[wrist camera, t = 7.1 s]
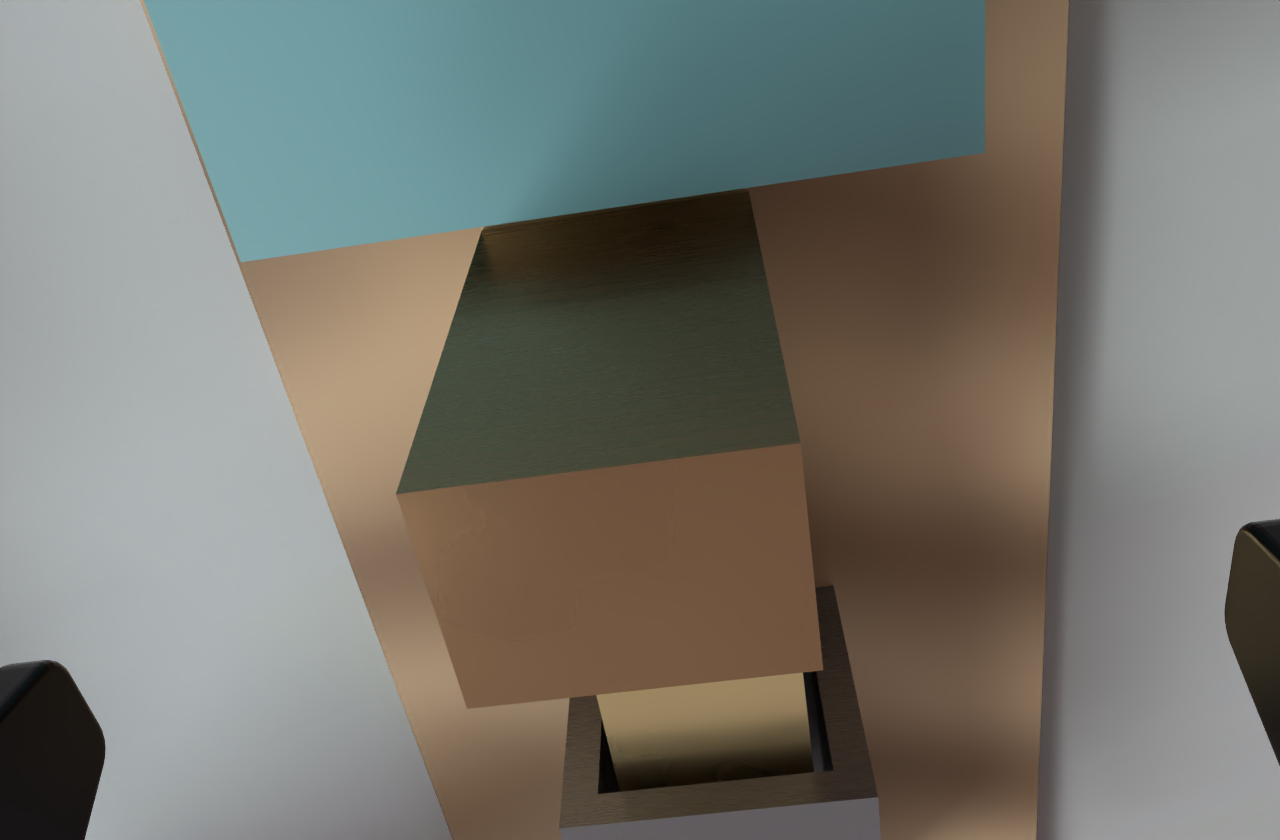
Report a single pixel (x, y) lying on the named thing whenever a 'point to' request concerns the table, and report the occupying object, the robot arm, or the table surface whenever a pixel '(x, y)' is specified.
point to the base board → (830, 443)
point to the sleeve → (740, 809)
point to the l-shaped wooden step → (624, 489)
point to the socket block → (551, 104)
